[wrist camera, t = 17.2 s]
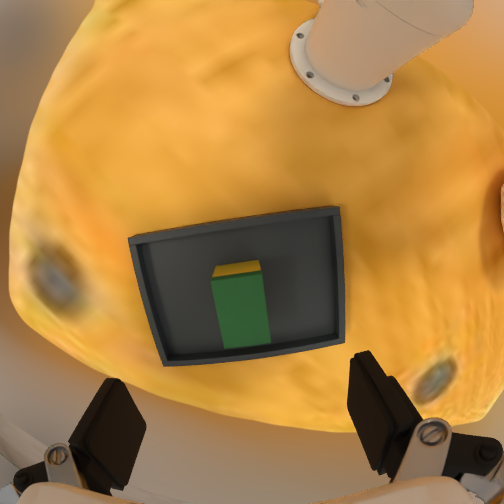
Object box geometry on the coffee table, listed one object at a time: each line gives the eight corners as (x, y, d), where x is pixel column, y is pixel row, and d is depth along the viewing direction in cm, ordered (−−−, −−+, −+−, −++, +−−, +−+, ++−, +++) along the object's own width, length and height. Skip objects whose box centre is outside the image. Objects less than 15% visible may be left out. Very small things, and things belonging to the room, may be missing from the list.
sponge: (215, 265, 28) (210, 281, 23) (258, 259, 28) (262, 273, 23) (226, 325, 30) (224, 349, 25) (266, 320, 30) (271, 343, 25)
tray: (134, 234, 28) (127, 238, 26) (333, 205, 28) (339, 206, 26) (167, 357, 31) (163, 367, 29) (339, 334, 31) (345, 342, 29)
